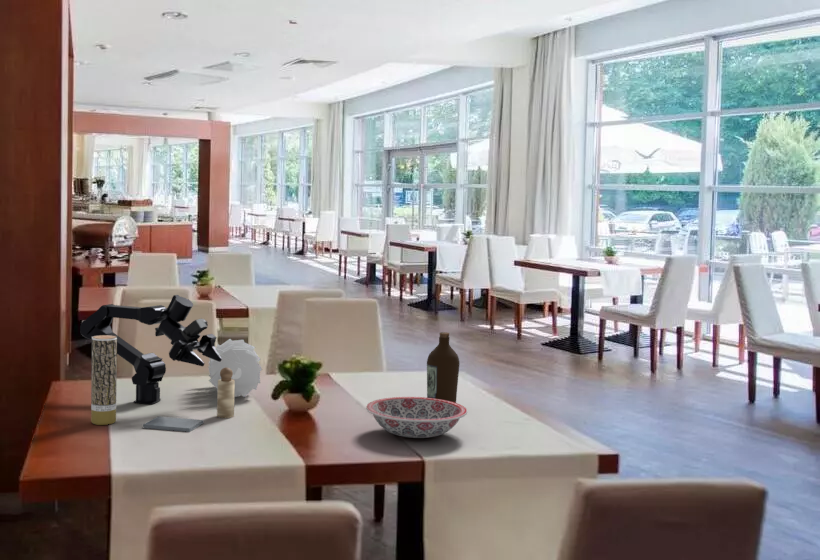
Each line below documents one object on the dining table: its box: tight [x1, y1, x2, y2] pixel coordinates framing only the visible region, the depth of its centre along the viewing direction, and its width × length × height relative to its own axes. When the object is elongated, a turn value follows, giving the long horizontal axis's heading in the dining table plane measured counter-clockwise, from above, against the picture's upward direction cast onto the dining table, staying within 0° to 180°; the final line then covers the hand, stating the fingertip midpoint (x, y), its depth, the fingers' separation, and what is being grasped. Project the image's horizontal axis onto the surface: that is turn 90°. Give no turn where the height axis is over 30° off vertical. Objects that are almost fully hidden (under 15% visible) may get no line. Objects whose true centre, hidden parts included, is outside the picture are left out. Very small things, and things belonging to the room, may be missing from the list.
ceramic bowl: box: [365, 396, 468, 439], centre depth 257 cm, size 29×29×8 cm
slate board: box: [142, 415, 204, 433], centre depth 257 cm, size 14×10×1 cm
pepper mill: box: [216, 367, 235, 419], centre depth 269 cm, size 5×5×15 cm
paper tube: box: [90, 335, 118, 426], centre depth 256 cm, size 7×7×25 cm
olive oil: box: [426, 331, 460, 403], centre depth 290 cm, size 11×11×25 cm
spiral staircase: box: [207, 338, 263, 398], centre depth 302 cm, size 18×18×25 cm
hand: (212, 362), depth 274 cm, fingers open, 9 cm apart
